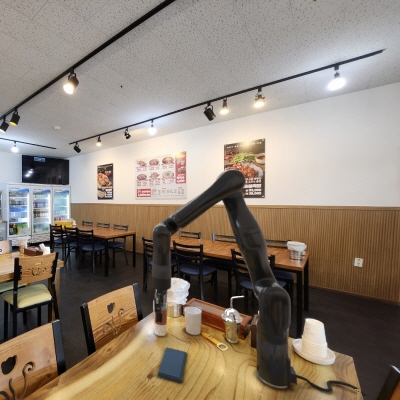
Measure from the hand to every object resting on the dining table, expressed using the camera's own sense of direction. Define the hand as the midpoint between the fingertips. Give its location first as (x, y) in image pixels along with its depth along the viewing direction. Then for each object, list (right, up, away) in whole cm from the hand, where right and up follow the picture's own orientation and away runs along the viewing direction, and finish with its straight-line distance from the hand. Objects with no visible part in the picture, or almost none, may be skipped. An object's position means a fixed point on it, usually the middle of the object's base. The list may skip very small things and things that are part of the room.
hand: (160, 318), depth 89 cm
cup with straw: (+34, -17, +13) cm, 40 cm away
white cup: (+19, -17, +20) cm, 33 cm away
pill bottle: (0, -1, 0) cm, 1 cm away
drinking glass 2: (+3, -17, +18) cm, 25 cm away
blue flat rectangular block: (+4, -16, -3) cm, 17 cm away
